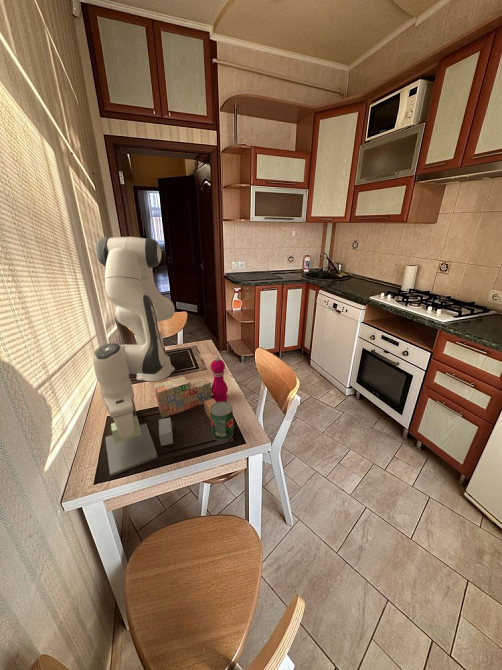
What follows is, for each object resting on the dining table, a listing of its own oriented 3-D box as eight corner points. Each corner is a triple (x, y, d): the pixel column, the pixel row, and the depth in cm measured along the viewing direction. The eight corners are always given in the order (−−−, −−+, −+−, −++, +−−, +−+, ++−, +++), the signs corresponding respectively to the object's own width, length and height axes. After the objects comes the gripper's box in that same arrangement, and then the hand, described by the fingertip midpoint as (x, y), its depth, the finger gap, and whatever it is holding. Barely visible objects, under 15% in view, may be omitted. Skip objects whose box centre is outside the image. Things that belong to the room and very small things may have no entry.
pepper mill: (214, 405, 114) (210, 362, 106) (209, 395, 120) (206, 355, 113) (230, 400, 117) (228, 359, 109) (225, 391, 123) (222, 352, 115)
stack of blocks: (207, 394, 122) (204, 370, 117) (212, 401, 117) (210, 376, 112) (158, 409, 112) (153, 384, 107) (162, 418, 107) (157, 392, 102)
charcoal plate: (105, 439, 97) (105, 437, 96) (146, 425, 103) (146, 423, 103) (110, 476, 82) (109, 474, 82) (157, 457, 89) (157, 455, 88)
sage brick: (114, 435, 90) (110, 423, 88) (139, 427, 94) (136, 415, 92) (115, 443, 87) (111, 431, 85) (141, 434, 91) (138, 422, 89)
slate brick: (161, 446, 93) (159, 434, 92) (160, 430, 100) (158, 419, 99) (173, 443, 94) (171, 432, 93) (172, 428, 102) (170, 417, 100)
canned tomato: (209, 428, 101) (207, 404, 97) (230, 423, 103) (228, 399, 99) (215, 443, 94) (212, 417, 90) (236, 437, 96) (235, 412, 92)
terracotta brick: (212, 423, 104) (211, 412, 102) (205, 411, 110) (204, 401, 108) (222, 419, 106) (221, 408, 104) (214, 408, 112) (213, 398, 110)
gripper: (104, 382, 91) (112, 416, 96) (110, 416, 75) (120, 454, 80) (124, 377, 94) (131, 410, 99) (134, 408, 78) (142, 446, 83)
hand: (126, 430), depth 90 cm, fingers closed on sage brick, 4 cm apart
